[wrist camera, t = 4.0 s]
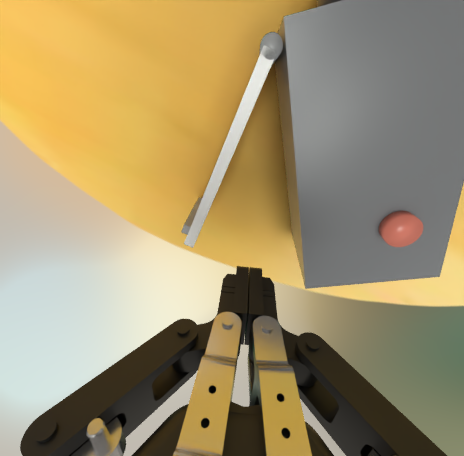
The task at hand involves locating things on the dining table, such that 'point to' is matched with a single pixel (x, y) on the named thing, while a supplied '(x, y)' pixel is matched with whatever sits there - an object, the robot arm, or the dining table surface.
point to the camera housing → (372, 136)
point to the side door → (234, 134)
